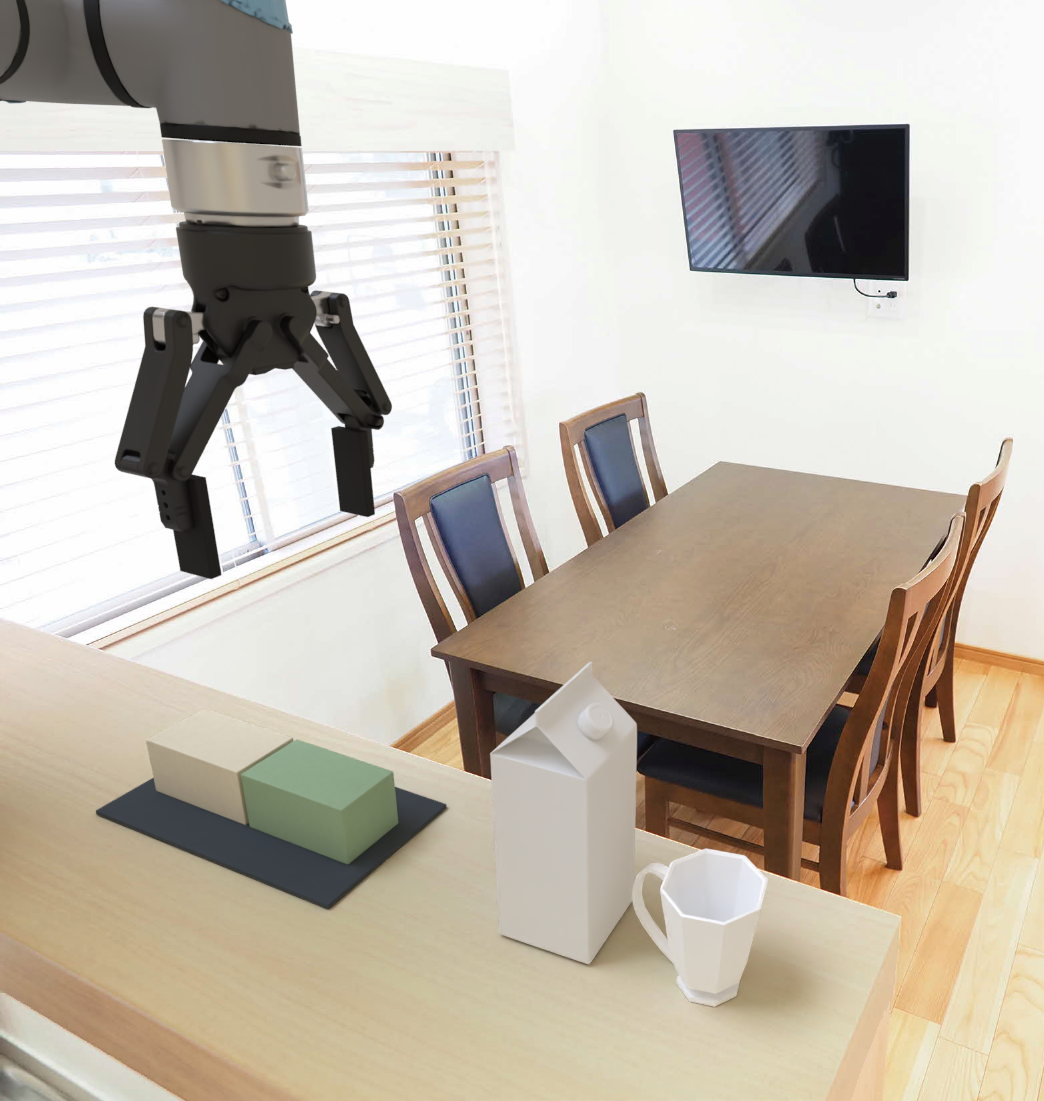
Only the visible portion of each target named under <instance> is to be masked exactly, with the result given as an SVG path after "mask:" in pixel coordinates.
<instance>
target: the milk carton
mask: <svg viewBox="0 0 1044 1101" xmlns="http://www.w3.org/2000/svg"><path fill="white" fill-rule="evenodd" d="M593 663H594V662H593V661H589V662H588V663H587V664H585V665H584V666H583V667H581V669H579V671H577V673H575V674H574V675H573V676H572V677H570V679H568V680H567V681H566V682H565V683H564V684H562V686H561V687H560V688H558V689H557V690H556V691H555V692H554V693H553V694H552V695H551V696H550V697H549V698H547V699H546V700H545V701H544V702H542V704H541V705H540V706H538V708H536V709H535V710H534V713H533V714H531V715H530V716H529V717H528V719H526V720H525V721H524V722H523V723H522V724H521V725H519V727H518V728H516V729H515V730H514V731H513V732H512V733H511V734H509V735H508V736H507V737H506V738H505V739H504V740H503V741H502V742H501V743H500V744H498V746H496V747H495V749H493V750H492V751H491V752H489V758H490V776H491V795H492V796H491V798H492V799H491V800H492V816H493V835H494V857H495V858H494V859H495V876H496V878H495V879H496V880H495V881H496V898H497V899H496V900H497V916H498V917H497V918H498V919H497V920H498V933H499V935H501V936H504V937H507V938H510V939H512V940H515V941H519V942H521V943H524V944H527V945H530V946H533V947H536V948H539V949H540V950H541V949H542V950H544V951H547V952H551V953H553V954H556V955H559V956H562V957H565V958H568V959H571V960H574V961H577V962H580V963H583V964H586V965H590V964H591V963H592V962H593V960H594V959H595V957H596V956H597V954H598V953H599V951H600V950H601V948H602V947H603V945H604V944H605V942H606V941H607V940H608V938H609V936H610V935H611V933H612V932H613V930H614V929H615V927H616V926H617V925H618V923H619V921H620V920H621V919H622V917H623V915H624V914H625V912H626V911H627V909H628V908H629V906H630V905H631V904H632V903H633V901H632V890H633V884H634V881H635V878H636V876H635V875H636V874H635V871H636V867H635V866H636V822H637V820H636V819H637V818H636V817H637V812H636V809H637V764H638V763H637V759H638V758H637V757H638V724H637V721H635V720H634V718H632V716H631V715H629V713H628V712H627V711H626V710H625V709H624V708H623V706H621V705H620V703H618V700H617V701H616V699H615V698H614V697H613V696H612V695H611V694H610V693H609V691H607V689H606V688H605V687H604V686H603V685H602V684H601V683H600V681H599V680H598V679H596V677H595V676H594V675H593V673H594V672H593V670H594V669H593V667H594V666H593Z"/></svg>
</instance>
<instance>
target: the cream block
mask: <svg viewBox="0 0 1044 1101" xmlns="http://www.w3.org/2000/svg"><path fill="white" fill-rule="evenodd" d="M293 741H294V737H292V736H289V735H286V734H283V733H280V732H278V731H274V730H271V729H268V728H265V727H261V726H259V725H257V724H253V723H250V722H247V721H244V720H242V719H238V718H235V717H233V716H230V715H226V714H223V713H221V712H219V711H218V712H217V711H215V710H211V709H208V708H205V707H204V708H203V709H200V710H198V711H197V712H195V713H193V714H191V715H190V716H187V717H185V718H184V719H182V720H179V721H178V722H176V723H174V724H172V725H170V726H169V727H166V728H165V729H163V730H161V731H159V732H157V733H155V734H153V735H151V736H150V737H148V738H146V739H145V744H146V748H147V752H148V758H149V763H150V767H151V772H152V778H154V782H155V787H156V791H158V792H161V793H163V794H166V795H169V796H171V797H174V798H176V799H179V800H182V801H184V802H187V803H189V804H192V805H195V806H197V807H200V808H202V809H205V810H208V811H210V812H213V813H215V814H218V815H221V816H223V817H226V818H228V819H231V820H234V821H236V822H239V823H241V824H244V825H247V824H248V823H249V820H248V814H247V808H246V802H245V796H244V790H243V784H242V778H241V774H242V773H244V772H245V771H247V770H248V769H250V768H252V767H253V766H255V765H256V764H258V763H260V762H261V761H263V760H264V759H266V758H268V757H269V756H271V755H272V754H274V753H276V752H277V751H279V750H280V749H282V748H284V747H285V746H287V745H288V744H290V743H292V742H293Z"/></svg>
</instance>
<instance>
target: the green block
mask: <svg viewBox="0 0 1044 1101" xmlns="http://www.w3.org/2000/svg"><path fill="white" fill-rule="evenodd" d="M241 778H242V784H243V790H244V796H245V802H246V808H247V814H248V820H249V826H250V827H251V828H254V829H257V830H259V831H262V832H264V833H267V834H270V835H272V836H275V837H277V838H280V839H283V840H285V841H288V842H290V843H293V844H296V845H298V846H301V847H303V848H306V849H308V850H311V851H314V852H316V853H319V854H321V855H324V856H327V857H329V858H332V859H334V860H337V861H340V862H342V863H345V864H350V863H351V862H352V861H353V860H354V859H356V858H357V857H358V856H359V855H360V854H362V853H363V852H364V851H365V850H367V849H368V848H369V847H370V846H371V845H373V844H374V843H375V842H376V841H377V840H379V839H380V838H381V837H382V836H384V835H385V834H386V833H387V832H388V831H390V830H391V829H392V828H393V827H395V826H396V825H397V824H398V815H397V804H396V794H395V787H396V785H395V773H394V771H393V770H390V769H387V768H384V767H380V766H378V765H375V764H372V763H369V762H366V761H363V760H360V759H357V758H354V757H351V756H348V755H345V754H342V753H339V752H336V751H334V750H330V749H328V748H325V747H321V746H318V745H315V744H312V743H309V742H306V741H303V740H301V739H295V740H293V742H292V743H290V744H288V745H287V746H285V747H284V748H282V749H280V750H279V751H277V752H276V753H274V754H272V755H271V756H269V757H268V758H266V759H264V760H263V761H261V762H260V763H258V764H256V765H255V766H253V767H252V768H250V769H248V770H247V771H245V772H244V773H242V774H241Z"/></svg>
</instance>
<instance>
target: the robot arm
mask: <svg viewBox="0 0 1044 1101" xmlns="http://www.w3.org/2000/svg"><path fill="white" fill-rule="evenodd" d="M289 20H290V19H289V14H288V7H287V1H286V0H0V102H6V103H7V104H23V103H27V102H34V103H50V104H66V105H69V104H70V105H92V106H93V105H94V106H120V107H121V106H122V107H130V108H135V109H156V113H157V118H158V122H159V129H160V135H161V136H160V137H161V138H162V139H161V144H162V149H163V150H162V152H163V156H164V164H165V165H164V166H165V171H166V177H167V178H166V179H167V185H168V193H169V198H170V206H171V208H173V209H174V210H175V211H177V212H178V213H183V214H184V219H185V220H184V221H179V222H178V226H176V227H175V232H176V238H177V245H178V251H179V258H180V265H181V271H182V276H183V278H184V280H185V281H186V282H187V284H188V285H189V287H190V289H191V292H192V295H193V298H192V299H193V301H192V306H191V309H190V310H181V309H174V308H173V309H172V308H165V307H159V306H148V307H146V308H145V309H144V311H143V316H142V318H143V319H142V322H143V333H144V335H143V336H144V350H143V353H142V357H141V360H140V364H139V368H138V371H137V376H136V380H135V383H134V386H133V391H132V394H131V398H130V401H129V405H128V408H127V409H128V410H127V413H126V417H125V421H124V425H123V428H122V432H121V436H120V439H119V443H118V447H117V449H116V450H117V451H116V454H115V458H114V467H115V469H116V470H118V471H119V472H121V473H125V474H128V475H134V476H138V477H142V478H147V479H150V480H151V481H152V482H153V486H154V492H155V496H156V503H157V506H158V508H157V509H158V512H159V519H160V522H161V524H162V525H163V527H164V528H165V529H167V530H168V529H169V530H172V532H173V537H174V543H175V549H176V554H177V561H178V566H179V571H180V572H183V573H185V574H189V575H193V576H198V577H201V578H205V579H208V580H214V579H215V578H219V577H221V576H222V570H221V569H222V568H221V564H220V557H219V552H218V551H219V550H218V544H217V539H216V538H217V537H216V533H215V526H214V520H213V514H212V507H211V501H210V495H209V488H208V482H207V477H205V476H203V475H202V476H201V475H197V474H194V470H195V469H196V467H197V465H198V463H199V462H200V459H201V457H202V455H203V453H204V451H205V449H206V447H207V445H208V443H209V442H210V440H211V437H212V435H213V433H214V431H215V429H216V427H217V425H218V424H219V422H220V420H221V417H222V416H223V414H224V411H225V410H226V408H227V406H228V404H229V402H230V399H231V398H232V396H233V394H234V392H235V390H236V389H237V388H238V387H240V386H242V385H244V384H245V382H246V381H247V379H248V377H249V376H250V375H251V376H252V375H253V376H259V375H260V376H261V375H264V374H265V375H266V374H267V373H269V372H271V371H273V370H274V369H277V370H285V371H286V370H291V369H292V370H293V371H294V373H295V374H296V375H297V376H298V377H299V378H300V379H301V380H302V382H304V384H306V386H307V387H308V388H309V389H310V390H311V391H312V392H313V394H314V395H315V396H316V397H317V398H318V399H319V400H320V401H321V402H322V403H323V404H324V406H325V407H326V408H327V409H328V410H329V411H330V412H331V413H332V414H333V415H334V417H335V418H336V419H337V420H338V421H339V422H340V423H341V424H342V425H344V426H342V425H341V426H340V425H337V426H334V427H331V428H330V430H331V431H330V432H331V440H332V449H333V459H334V468H335V477H336V486H337V496H338V504H339V505H338V506H339V512H342V513H346V514H352V515H356V516H361V517H365V518H369V517H372V516H374V515H376V510H375V501H374V500H375V498H374V490H373V479H372V468H374V467H375V466H374V465H375V454H374V452H375V450H374V441H373V430H375V431H380V430H381V429H382V428H383V427H384V425H385V418H384V416H388V415H390V414H391V412H392V410H393V405H392V401H391V399H390V397H389V395H388V393H387V390H386V389H385V387H384V384H383V383H382V381H381V378H380V376H379V375H378V372H377V370H376V368H375V367H374V364H373V362H372V360H371V358H370V355H369V354H368V351H367V350H366V347H365V345H364V343H363V341H362V339H361V337H360V335H359V332H358V331H357V328H356V326H355V325H354V320H353V314H352V308H351V302H350V298H349V296H348V295H347V294H345V293H344V292H343V293H341V292H334V291H324V290H318V289H317V290H313V291H311V292H310V289H309V287H310V286H312V285H313V284H314V283H315V282H316V281H317V280H316V279H317V271H316V269H317V268H316V261H315V260H316V259H315V253H314V252H315V251H314V243H313V234H312V230H310V229H309V228H308V226H307V225H305V224H300V217H304V216H307V214H308V213H309V212H310V211H309V209H310V208H309V201H308V192H307V182H306V173H305V163H304V153H303V148H302V145H303V144H302V136H301V133H300V132H301V130H300V119H299V107H298V97H297V86H296V76H295V75H296V74H295V65H294V64H295V63H294V51H293V43H292V42H293V41H292V40H293V39H292V35H293V34H294V31H293V26H292V24H291V23H290V21H289ZM314 326H315V329H316V331H317V334H318V336H319V338H320V340H321V342H322V344H323V346H324V347H323V346H322V345H321V344H320V343H319V341H318V340H317V339H316V338H315V336H314V335H313V334H312V333H311V332H312V330H313V327H314ZM200 340H201V341H202V342H201V344H200V346H199V348H198V350H197V352H196V353H195V355H194V356H193V353H194V345H197V344H199V343H200ZM324 348H325V349H324ZM329 358H330V360H331V361H332V362H331V361H330V360H329ZM219 361H220V363H221V364H220V363H219ZM190 370H191V375H190V374H189V373H190ZM189 375H190V377H189ZM188 378H189V379H188Z"/></svg>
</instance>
